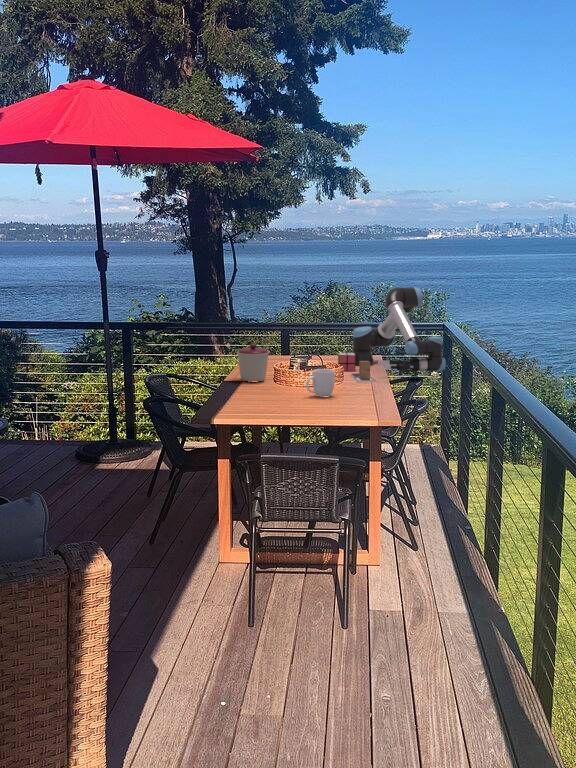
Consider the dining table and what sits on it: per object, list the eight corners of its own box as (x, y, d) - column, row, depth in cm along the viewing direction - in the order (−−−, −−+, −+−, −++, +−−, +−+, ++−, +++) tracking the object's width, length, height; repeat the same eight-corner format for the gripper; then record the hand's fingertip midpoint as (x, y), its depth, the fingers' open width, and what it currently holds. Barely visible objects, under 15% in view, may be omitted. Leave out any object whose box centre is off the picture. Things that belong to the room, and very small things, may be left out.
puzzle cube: (355, 371, 475) (355, 355, 473) (338, 371, 475) (338, 355, 474) (354, 369, 485) (354, 352, 483) (337, 369, 485) (338, 352, 483)
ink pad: (350, 375, 461) (350, 373, 461) (365, 375, 462) (365, 373, 462) (353, 378, 452) (353, 376, 452) (369, 378, 454) (369, 375, 453)
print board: (352, 378, 451) (352, 377, 451) (371, 378, 453) (371, 377, 453) (357, 382, 440) (357, 380, 440) (376, 381, 442) (376, 380, 442)
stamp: (359, 378, 448) (359, 361, 447) (367, 378, 449) (368, 360, 447) (361, 380, 444) (361, 362, 442) (369, 380, 444) (370, 362, 443)
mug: (311, 399, 392) (311, 373, 390) (301, 395, 402) (302, 370, 400) (338, 397, 398) (338, 371, 396) (328, 393, 408) (328, 368, 406)
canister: (268, 384, 432) (268, 345, 429) (235, 383, 433) (234, 345, 429) (270, 378, 450) (270, 341, 446) (238, 378, 451) (238, 341, 447)
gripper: (424, 374, 439) (387, 375, 435) (411, 367, 463) (375, 368, 460) (425, 361, 437) (388, 362, 434) (411, 354, 461) (375, 355, 458)
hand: (381, 365), depth 447 cm, fingers open, 13 cm apart
